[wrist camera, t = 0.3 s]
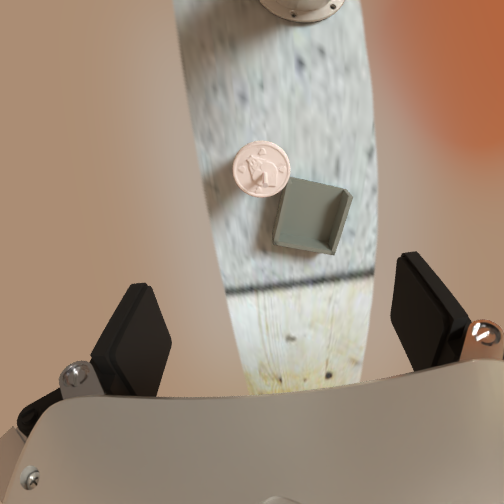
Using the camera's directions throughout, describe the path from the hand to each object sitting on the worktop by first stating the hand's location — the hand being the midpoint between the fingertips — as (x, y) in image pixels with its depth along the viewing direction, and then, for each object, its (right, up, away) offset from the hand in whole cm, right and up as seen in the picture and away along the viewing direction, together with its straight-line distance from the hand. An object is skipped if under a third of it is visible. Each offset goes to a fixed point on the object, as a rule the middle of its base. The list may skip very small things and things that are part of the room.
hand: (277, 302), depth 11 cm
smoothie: (0, +15, +30) cm, 34 cm away
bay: (+7, +8, +34) cm, 36 cm away
